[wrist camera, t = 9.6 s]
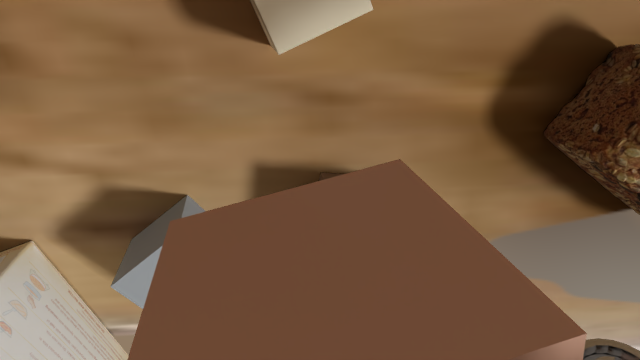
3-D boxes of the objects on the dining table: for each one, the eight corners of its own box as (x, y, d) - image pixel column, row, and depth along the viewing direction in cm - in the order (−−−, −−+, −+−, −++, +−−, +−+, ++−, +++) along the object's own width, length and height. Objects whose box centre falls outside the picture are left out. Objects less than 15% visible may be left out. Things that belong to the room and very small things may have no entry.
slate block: (131, 239, 31) (110, 286, 26) (187, 194, 31) (177, 233, 25) (186, 281, 34) (176, 332, 29) (238, 240, 33) (239, 285, 28)
